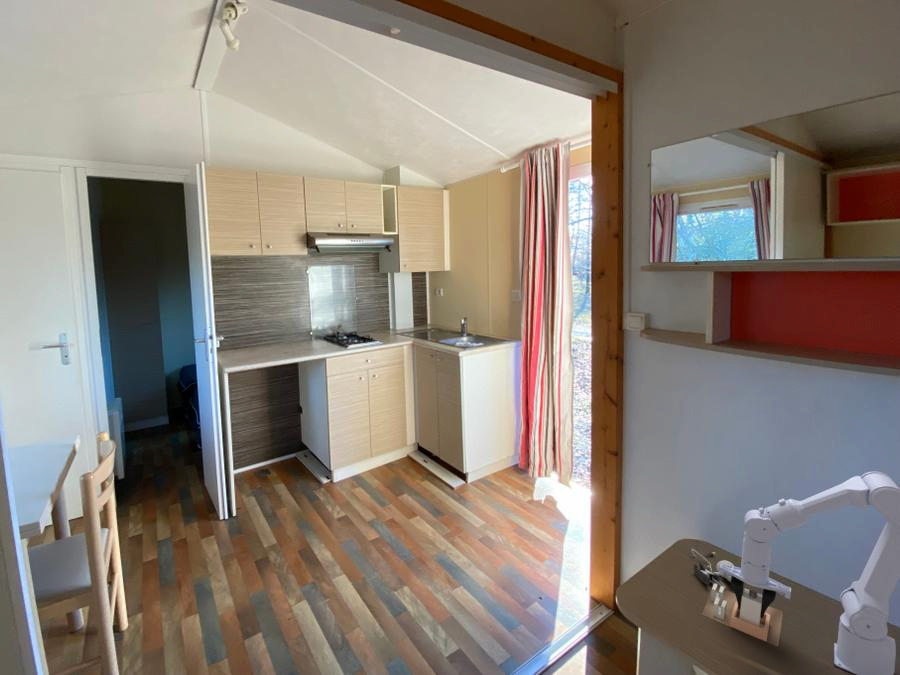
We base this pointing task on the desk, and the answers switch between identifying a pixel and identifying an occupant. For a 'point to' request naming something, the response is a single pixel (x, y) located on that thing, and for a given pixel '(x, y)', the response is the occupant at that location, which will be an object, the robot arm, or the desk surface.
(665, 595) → the desk surface
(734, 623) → the frame
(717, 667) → the desk surface
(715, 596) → the clips
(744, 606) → the connector plug
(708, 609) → the board
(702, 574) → the clip-on lamp
